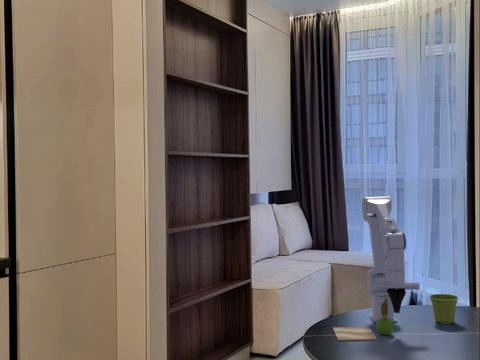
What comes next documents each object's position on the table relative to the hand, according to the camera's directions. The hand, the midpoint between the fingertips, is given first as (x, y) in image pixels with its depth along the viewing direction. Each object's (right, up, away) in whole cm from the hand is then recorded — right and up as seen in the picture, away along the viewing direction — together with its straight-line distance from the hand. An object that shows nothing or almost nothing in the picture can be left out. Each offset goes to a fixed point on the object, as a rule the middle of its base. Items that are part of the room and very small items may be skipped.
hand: (396, 312), depth 165 cm
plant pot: (+20, -7, +13) cm, 25 cm away
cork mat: (-13, -7, +1) cm, 15 cm away
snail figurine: (-4, -7, 0) cm, 8 cm away
